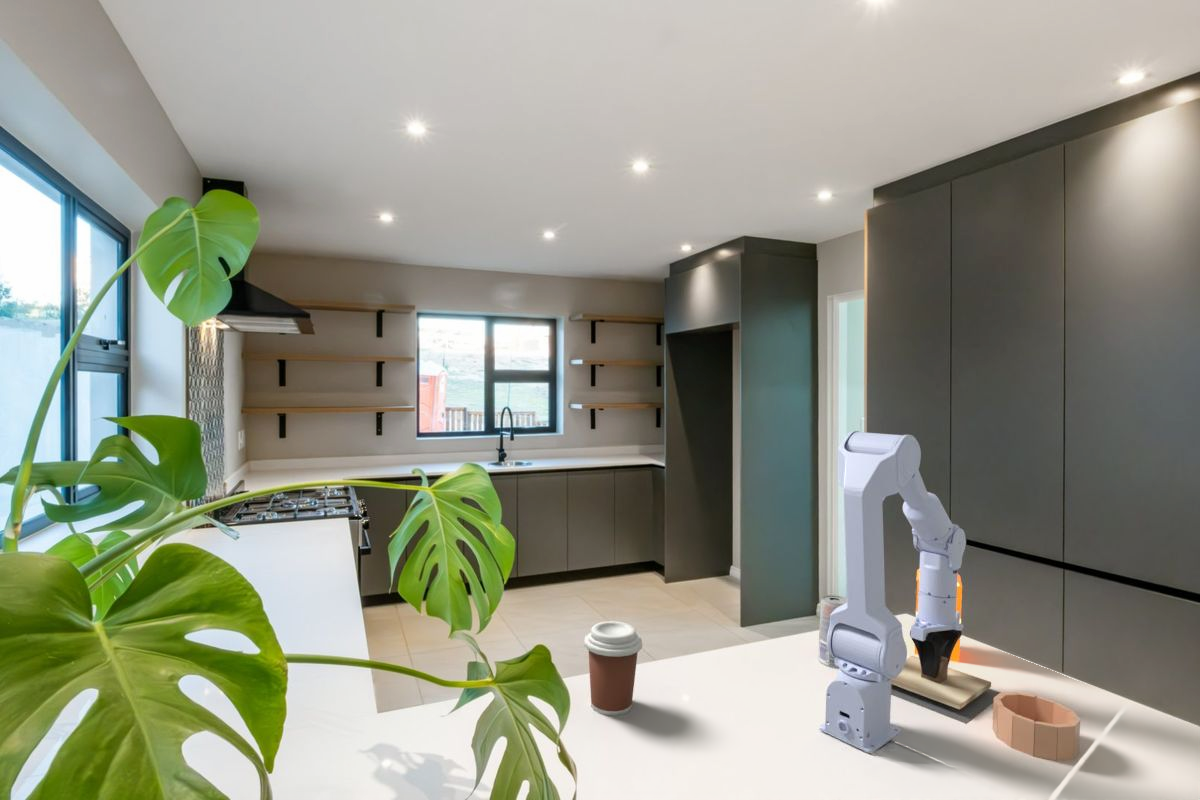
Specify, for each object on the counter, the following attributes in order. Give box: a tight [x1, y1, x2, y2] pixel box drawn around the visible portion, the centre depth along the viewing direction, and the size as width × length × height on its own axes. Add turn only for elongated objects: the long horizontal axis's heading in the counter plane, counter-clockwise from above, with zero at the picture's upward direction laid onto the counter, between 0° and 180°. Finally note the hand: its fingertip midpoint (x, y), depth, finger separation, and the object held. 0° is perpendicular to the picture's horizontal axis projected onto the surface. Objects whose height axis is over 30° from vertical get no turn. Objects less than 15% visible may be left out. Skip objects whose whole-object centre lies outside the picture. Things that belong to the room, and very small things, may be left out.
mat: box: [891, 684, 1002, 725], centre depth 108 cm, size 16×16×1 cm
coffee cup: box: [584, 620, 643, 716], centre depth 100 cm, size 9×9×12 cm
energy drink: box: [818, 594, 847, 670], centre depth 118 cm, size 5×5×12 cm
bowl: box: [991, 691, 1081, 762], centre depth 92 cm, size 10×10×5 cm
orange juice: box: [914, 568, 963, 663], centre depth 125 cm, size 8×9×20 cm
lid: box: [891, 655, 992, 709], centre depth 108 cm, size 13×13×4 cm
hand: (934, 672), depth 108 cm, fingers closed on lid, 3 cm apart
